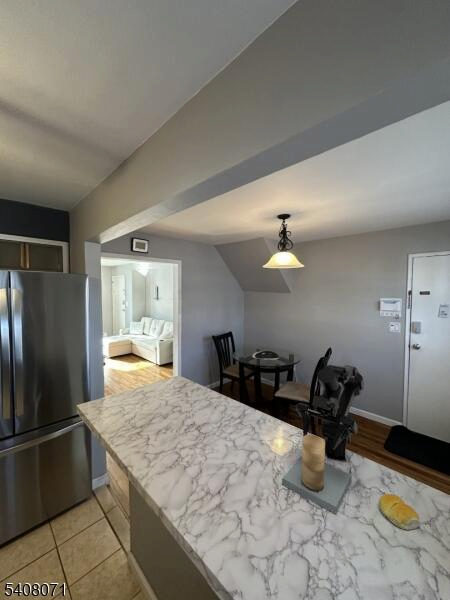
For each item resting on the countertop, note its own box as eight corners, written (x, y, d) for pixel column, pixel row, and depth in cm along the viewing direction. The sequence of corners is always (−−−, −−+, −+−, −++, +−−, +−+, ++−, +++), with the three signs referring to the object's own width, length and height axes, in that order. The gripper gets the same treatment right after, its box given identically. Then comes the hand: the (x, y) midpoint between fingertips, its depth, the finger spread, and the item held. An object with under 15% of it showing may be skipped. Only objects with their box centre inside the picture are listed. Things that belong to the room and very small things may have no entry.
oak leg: (323, 484, 77) (324, 437, 77) (324, 500, 71) (325, 449, 71) (301, 479, 79) (302, 432, 79) (300, 494, 73) (302, 444, 73)
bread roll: (394, 500, 72) (394, 486, 72) (425, 527, 64) (426, 512, 64) (370, 504, 71) (371, 490, 71) (399, 534, 62) (400, 518, 62)
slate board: (303, 458, 90) (303, 453, 90) (351, 480, 79) (351, 474, 79) (281, 484, 77) (282, 478, 77) (335, 514, 67) (336, 507, 67)
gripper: (297, 379, 88) (282, 422, 80) (355, 393, 76) (344, 444, 68) (307, 395, 94) (293, 436, 86) (361, 410, 82) (352, 459, 73)
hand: (318, 443), depth 78 cm, fingers open, 9 cm apart
